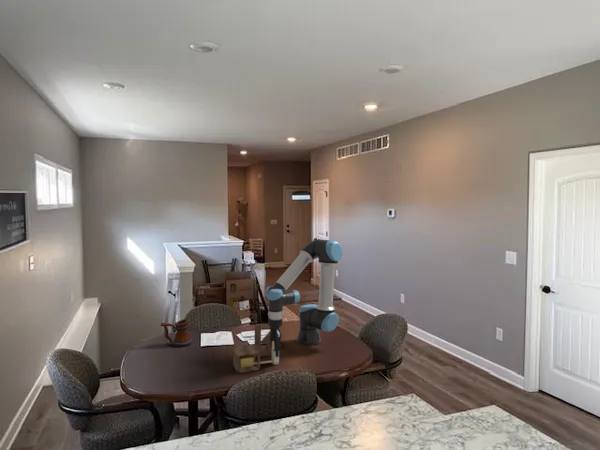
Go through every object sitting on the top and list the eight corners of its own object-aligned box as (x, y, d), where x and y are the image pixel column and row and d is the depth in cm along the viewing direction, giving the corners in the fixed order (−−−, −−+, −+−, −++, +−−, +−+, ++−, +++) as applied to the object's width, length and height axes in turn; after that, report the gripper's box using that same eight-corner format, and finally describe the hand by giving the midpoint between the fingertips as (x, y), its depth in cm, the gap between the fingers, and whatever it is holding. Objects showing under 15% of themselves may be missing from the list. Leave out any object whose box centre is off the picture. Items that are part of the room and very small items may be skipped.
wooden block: (273, 355, 242) (273, 324, 241) (255, 357, 238) (255, 326, 237) (271, 353, 245) (271, 322, 244) (253, 355, 242) (253, 324, 240)
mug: (160, 349, 250) (160, 324, 249) (160, 343, 261) (160, 319, 260) (192, 346, 255) (192, 321, 254) (191, 340, 266) (190, 316, 265)
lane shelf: (255, 361, 232) (255, 343, 232) (261, 369, 221) (261, 351, 221) (231, 364, 228) (231, 346, 227) (236, 373, 217) (236, 354, 216)
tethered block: (276, 361, 234) (276, 339, 233) (280, 365, 228) (280, 343, 227) (238, 366, 226) (238, 344, 225) (240, 370, 220) (240, 347, 220)
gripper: (264, 314, 235) (264, 356, 237) (273, 323, 219) (273, 367, 221) (277, 313, 238) (277, 354, 239) (286, 321, 222) (286, 365, 224)
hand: (275, 360), depth 230 cm, fingers closed on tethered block, 3 cm apart
